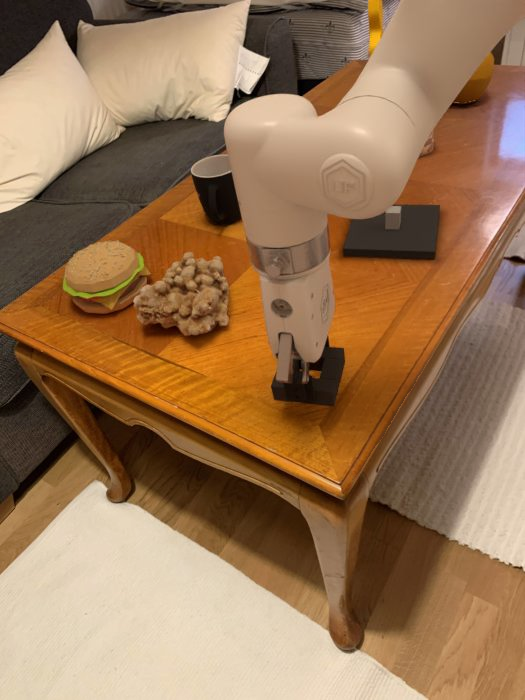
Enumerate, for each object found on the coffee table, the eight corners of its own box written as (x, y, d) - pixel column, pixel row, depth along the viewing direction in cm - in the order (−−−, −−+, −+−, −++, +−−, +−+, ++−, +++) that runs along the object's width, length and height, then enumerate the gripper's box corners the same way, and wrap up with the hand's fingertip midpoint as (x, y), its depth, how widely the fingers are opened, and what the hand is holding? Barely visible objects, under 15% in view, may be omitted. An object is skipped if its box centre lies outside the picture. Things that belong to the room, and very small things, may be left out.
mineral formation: (133, 333, 77) (184, 269, 85) (213, 361, 73) (258, 292, 81) (120, 294, 70) (177, 230, 79) (207, 323, 67) (256, 253, 75)
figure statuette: (391, 114, 122) (393, 5, 107) (358, 114, 125) (356, 7, 110) (406, 87, 133) (411, -16, 118) (376, 87, 136) (376, -13, 121)
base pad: (439, 212, 88) (441, 188, 85) (434, 259, 79) (437, 234, 76) (357, 211, 92) (356, 188, 89) (343, 256, 83) (341, 231, 80)
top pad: (345, 362, 62) (344, 347, 60) (334, 407, 57) (332, 392, 55) (289, 357, 64) (286, 343, 62) (273, 400, 59) (270, 386, 58)
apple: (469, 115, 115) (476, 58, 107) (419, 106, 123) (423, 52, 115) (501, 95, 120) (509, 40, 112) (452, 88, 128) (457, 35, 120)
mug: (208, 206, 102) (196, 156, 95) (252, 203, 100) (243, 152, 94) (195, 239, 94) (181, 187, 87) (244, 236, 92) (233, 183, 85)
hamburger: (114, 326, 79) (94, 284, 73) (55, 307, 85) (34, 267, 79) (166, 277, 86) (152, 236, 81) (109, 263, 92) (93, 223, 87)
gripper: (307, 304, 41) (326, 440, 53) (345, 196, 52) (354, 327, 64) (219, 300, 43) (257, 431, 55) (275, 197, 55) (296, 324, 67)
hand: (309, 374), depth 60 cm, fingers closed on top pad, 7 cm apart
